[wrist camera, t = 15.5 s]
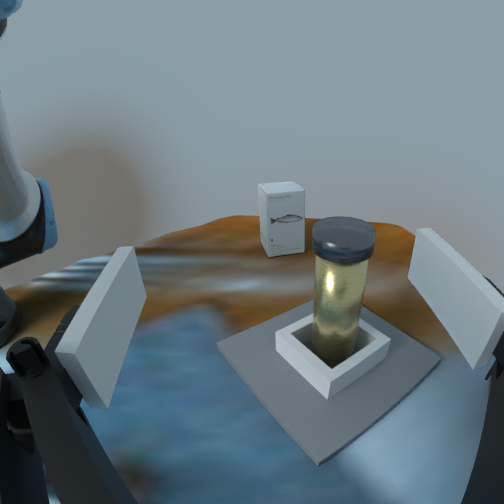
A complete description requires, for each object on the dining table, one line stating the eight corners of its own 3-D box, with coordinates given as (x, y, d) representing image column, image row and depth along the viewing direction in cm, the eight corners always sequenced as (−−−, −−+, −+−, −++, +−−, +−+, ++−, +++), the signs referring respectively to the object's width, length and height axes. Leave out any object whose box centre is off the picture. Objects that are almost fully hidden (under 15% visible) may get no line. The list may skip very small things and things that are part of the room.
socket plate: (217, 348, 38) (213, 324, 37) (334, 293, 47) (336, 271, 45) (317, 466, 23) (322, 448, 21) (439, 363, 32) (449, 339, 30)
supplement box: (267, 258, 59) (264, 193, 53) (260, 242, 65) (256, 183, 60) (305, 253, 60) (305, 189, 54) (294, 237, 66) (293, 179, 60)
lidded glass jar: (296, 352, 35) (299, 226, 28) (332, 332, 38) (343, 212, 31) (329, 381, 31) (345, 248, 24) (365, 357, 34) (388, 230, 26)
